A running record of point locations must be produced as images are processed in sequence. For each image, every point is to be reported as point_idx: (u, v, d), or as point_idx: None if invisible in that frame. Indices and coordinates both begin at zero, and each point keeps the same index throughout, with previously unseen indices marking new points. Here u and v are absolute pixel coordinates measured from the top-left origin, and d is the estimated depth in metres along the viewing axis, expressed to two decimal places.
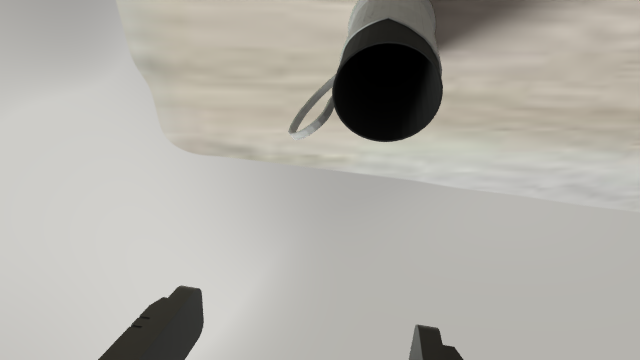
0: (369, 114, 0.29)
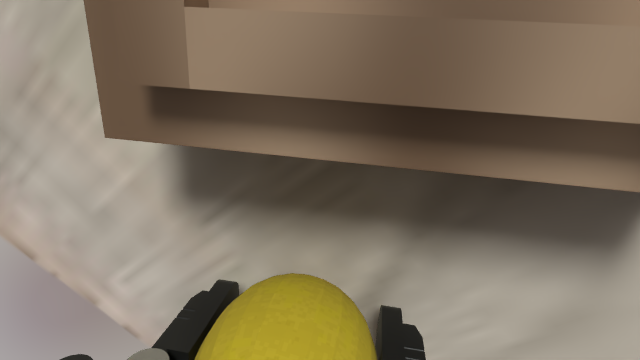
0: None
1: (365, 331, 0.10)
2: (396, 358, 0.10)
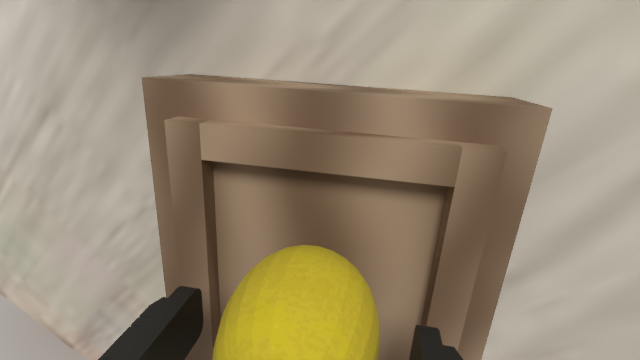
0: None
1: (368, 291, 0.12)
2: None
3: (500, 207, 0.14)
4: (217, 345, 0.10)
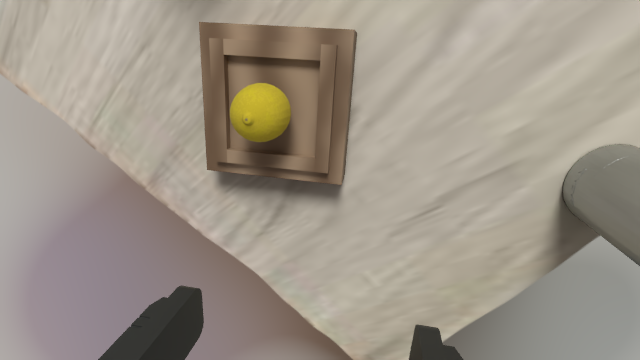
0: None
1: (286, 97, 0.33)
2: None
3: (342, 72, 0.34)
4: (231, 103, 0.31)
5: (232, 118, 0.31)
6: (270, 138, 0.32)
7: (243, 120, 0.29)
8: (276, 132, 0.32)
